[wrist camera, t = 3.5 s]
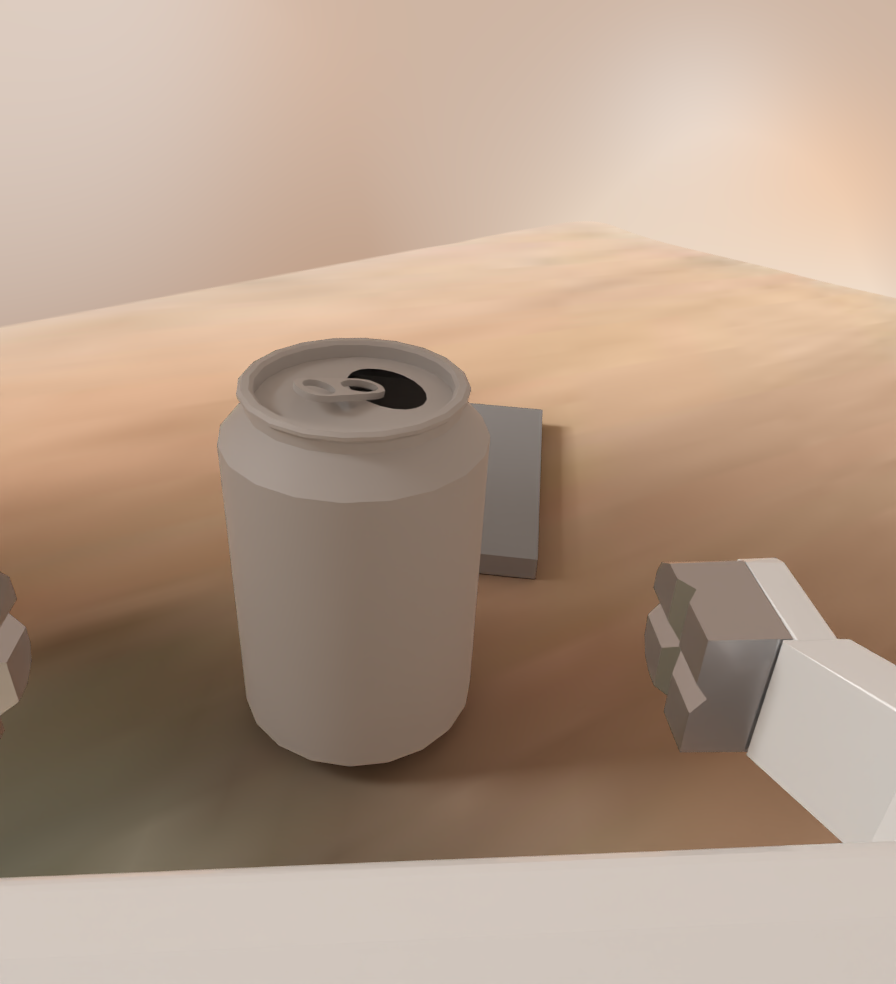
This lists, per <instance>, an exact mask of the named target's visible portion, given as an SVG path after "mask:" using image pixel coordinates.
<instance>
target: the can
mask: <svg viewBox="0 0 896 984" xmlns="http://www.w3.org/2000/svg"><path fill="white" fill-rule="evenodd" d="M470 392H471V387H470V384H469V382H468V380H467V377H466V375H465V373H464V372H463V371H462V370H461V369H459V368H458V367H457V366H456V365H454V364H453V363H452V362H451V361H449V360H448V359H447V358H446V357H443V356H441V355H439V354H436V353H434V352H432V351H429V350H427V349H425V348H422V347H418V346H414V345H409V344H405V343H401V342H397V341H389V340H379V339H369V338H333V339H325V340H318V341H311V342H304V343H299V344H296V345H293V346H289V347H286V348H282V349H279V350H275V351H273V352H271V353H270V354H268V355H266V356H264V357H262V358H260V359H258V360H256V361H255V362H253V363H252V364H251V365H250V366H249V367H248V368H247V369H246V370H245V372H244V373H243V374H242V375H241V376H240V377H239V378H238V385H237V393H236V396H237V399H238V400H239V402H240V403H239V404H238V405H237V406H236V407H235V408H234V410H233V411H232V412H231V413H230V414H229V415H228V417H227V418H226V419H225V420H224V421H223V422H222V424H221V425H220V430H219V437H218V443H217V448H218V457H219V466H220V474H221V483H222V491H223V500H224V509H225V517H226V526H227V534H228V543H229V552H230V560H231V569H232V577H233V586H234V595H235V603H236V612H237V620H238V629H239V637H240V646H241V655H242V663H243V672H244V680H245V689H246V698H247V701H248V703H249V706H250V708H251V711H252V713H253V716H254V718H255V721H256V723H257V725H258V726H259V727H261V728H262V729H263V730H264V731H265V732H266V733H267V734H268V735H269V736H270V737H271V738H272V739H273V740H274V741H275V742H276V743H277V744H278V745H279V746H281V747H283V748H285V749H287V750H289V751H292V752H294V753H296V754H298V755H300V756H302V757H304V758H307V759H309V760H311V761H317V762H324V763H330V764H336V765H343V766H358V765H369V764H379V763H388V762H391V761H393V760H396V759H399V758H401V757H404V756H407V755H409V754H412V753H415V752H418V751H420V750H423V749H424V748H425V747H427V746H428V745H429V744H431V743H432V742H433V741H435V740H436V739H437V738H439V737H440V736H441V735H443V734H444V733H445V732H447V731H448V730H449V729H450V728H451V726H452V725H453V723H454V722H455V720H456V719H457V717H458V716H459V714H460V713H461V711H462V710H463V708H464V707H465V705H466V700H467V694H468V689H469V683H470V675H471V663H472V651H473V639H474V627H475V614H476V602H477V590H478V578H479V566H480V553H481V541H482V529H483V517H484V505H485V492H486V480H487V468H488V456H489V444H490V434H489V432H488V429H487V427H486V425H485V422H484V420H483V418H482V416H481V415H480V414H479V413H478V412H477V411H476V409H475V408H474V407H473V406H472V405H471V404H470V403H469V402H468V398H469V395H470Z"/></svg>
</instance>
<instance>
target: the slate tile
mask: <svg viewBox="0 0 896 984" xmlns="http://www.w3.org/2000/svg"><path fill="white" fill-rule="evenodd" d="M470 404H471V405H472V406H473V407H474V408H475V409H476V411H477V412H478V413H479V414H480V415H481V416H482V418H483V420H484V422H485V425H486V427H487V429H488V432H489V434H490V444H489V456H488V468H487V480H486V492H485V505H484V517H483V529H482V541H481V553H480V566H479V573H482V574H491V575H501V576H510V577H520V578H530V579H535V577H536V569H537V561H538V535H539V503H540V471H541V439H542V410H539V409H528V408H517V407H506V406H495V405H484V404H473V403H470Z"/></svg>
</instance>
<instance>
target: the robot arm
mask: <svg viewBox="0 0 896 984" xmlns="http://www.w3.org/2000/svg"><path fill="white" fill-rule="evenodd" d="M653 588H654V590H655V592H656V594H657V597H658V599H659V601H660V603H659V604H658V605H657V606H656V607H655V608H654V609H653V610H652V611H651V612H650V613H649V614H648V617H647V623H646V630H645V657H646V662H647V667H648V671H649V674H650V677H651V679H652V682H653V685H654V686H655V687H657V688H658V689H659V690H661V691H662V692H663V693H665V694H666V695H667V699H666V704H665V708H664V713H665V716H666V719H667V721H668V724H669V726H670V729H671V731H672V734H673V736H674V739H675V741H676V744H677V746H678V749H679V751H680V752H747V754H746V755H747V756H748V757H749V758H750V759H751V760H752V761H754V762H755V763H756V764H757V765H758V766H759V767H760V768H761V769H762V770H763V771H765V772H766V773H767V774H768V775H769V776H770V777H771V778H772V779H773V780H774V781H776V782H777V783H778V784H779V785H780V786H781V787H782V788H783V789H784V790H785V791H787V792H788V793H789V794H790V795H791V796H792V797H793V798H794V799H795V800H796V801H798V802H799V803H800V804H801V805H802V806H803V807H804V808H805V809H806V810H807V811H809V812H810V813H811V814H812V815H813V816H814V817H815V818H816V819H817V820H818V821H820V822H821V823H822V824H823V825H824V826H825V827H826V828H827V829H828V830H829V831H831V832H832V833H833V834H834V835H835V836H836V837H837V838H838V839H839V840H840V841H842V842H843V843H833V844H809V845H785V846H762V847H738V848H715V849H692V850H669V851H645V852H620V853H594V854H569V855H544V856H519V857H494V858H468V859H443V860H418V861H394V862H370V863H346V864H322V865H298V866H274V867H250V868H226V869H202V870H178V871H154V872H130V873H106V874H82V875H58V876H33V877H9V878H0V984H896V665H894V664H893V663H891V662H889V661H887V660H886V659H884V658H882V657H880V656H879V655H877V654H875V653H873V652H871V651H870V650H868V649H866V648H864V647H863V646H861V645H859V644H857V643H856V642H854V641H852V640H850V639H837V637H836V636H835V635H834V633H833V632H832V630H831V629H830V628H829V626H828V625H827V623H826V622H825V620H824V619H823V618H822V616H821V615H820V613H819V612H818V610H817V609H816V608H815V606H814V605H813V603H812V602H811V600H810V599H809V598H808V596H807V595H806V593H805V592H804V590H803V589H802V588H801V586H800V585H799V583H798V582H797V580H796V579H795V578H794V576H793V575H792V573H791V572H790V570H789V569H788V568H787V566H786V565H785V563H784V562H783V561H781V560H779V559H777V558H755V559H738V560H737V561H693V562H662V563H661V565H660V567H659V569H658V571H657V574H656V578H655V583H654V587H653ZM16 600H17V597H16V594H15V592H14V589H13V586H12V583H11V580H10V578H9V577H8V576H7V575H5V574H3V573H1V572H0V715H1V714H3V713H4V712H5V711H7V710H8V709H10V708H11V707H13V706H14V705H15V704H17V703H18V702H19V701H20V699H21V697H22V694H23V692H24V690H25V688H26V686H27V684H28V679H29V673H30V667H31V662H32V658H31V645H30V640H29V636H28V633H27V629H26V627H25V626H24V625H23V624H22V623H20V622H19V621H18V620H17V619H15V618H14V617H13V616H12V615H10V614H9V612H10V610H11V608H12V606H13V605H14V603H15V601H16ZM4 731H5V730H4V727H3V724H2V721H1V718H0V738H1V736H2V734H3V733H4Z"/></svg>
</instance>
